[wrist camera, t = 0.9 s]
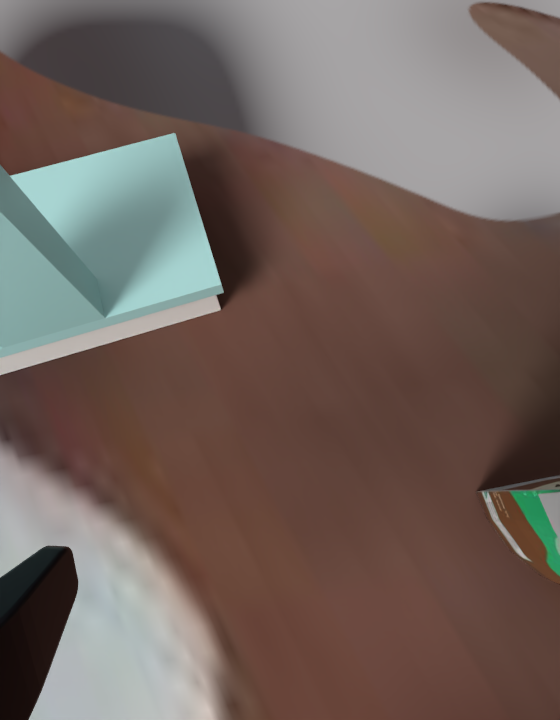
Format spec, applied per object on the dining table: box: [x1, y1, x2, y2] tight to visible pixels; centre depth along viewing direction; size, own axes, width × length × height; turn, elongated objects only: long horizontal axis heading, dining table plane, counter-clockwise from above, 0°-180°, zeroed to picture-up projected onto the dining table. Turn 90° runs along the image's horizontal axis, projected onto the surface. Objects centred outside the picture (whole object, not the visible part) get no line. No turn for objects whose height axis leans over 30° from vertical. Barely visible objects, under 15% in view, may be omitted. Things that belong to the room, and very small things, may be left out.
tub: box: [0, 295, 221, 375], centre depth 22 cm, size 8×14×2 cm, turn 108°
